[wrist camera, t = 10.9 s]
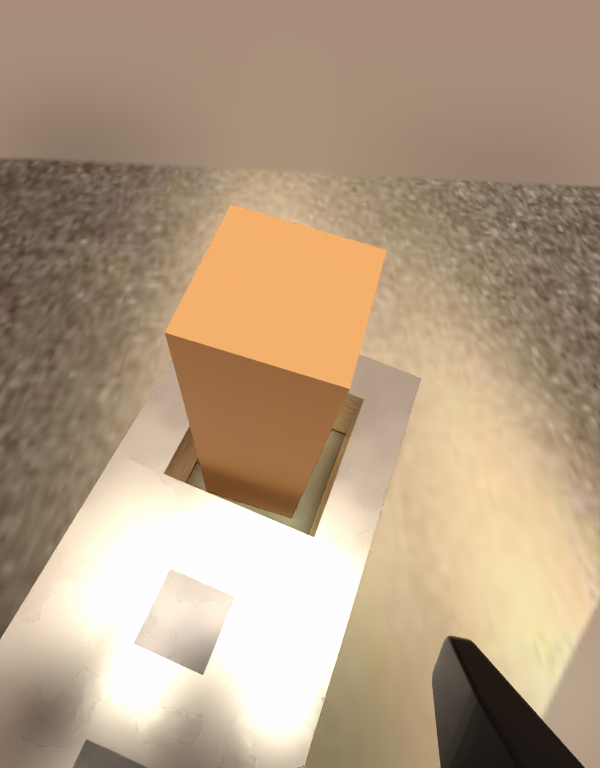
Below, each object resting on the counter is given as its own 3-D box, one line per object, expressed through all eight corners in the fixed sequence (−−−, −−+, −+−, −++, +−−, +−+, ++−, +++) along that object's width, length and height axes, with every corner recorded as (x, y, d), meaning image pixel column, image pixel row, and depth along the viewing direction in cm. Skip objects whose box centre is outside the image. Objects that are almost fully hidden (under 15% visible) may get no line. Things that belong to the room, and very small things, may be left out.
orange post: (291, 517, 21) (349, 388, 10) (206, 490, 21) (165, 332, 10) (314, 437, 23) (386, 250, 12) (236, 413, 23) (230, 204, 12)
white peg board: (224, 950, 15) (218, 1054, 11) (-52, 811, 16) (-142, 867, 12) (394, 414, 24) (421, 377, 20) (215, 343, 25) (210, 295, 21)
